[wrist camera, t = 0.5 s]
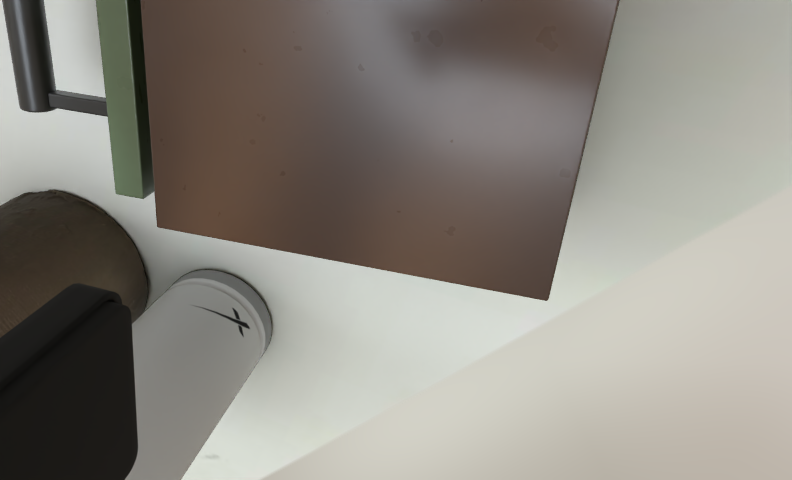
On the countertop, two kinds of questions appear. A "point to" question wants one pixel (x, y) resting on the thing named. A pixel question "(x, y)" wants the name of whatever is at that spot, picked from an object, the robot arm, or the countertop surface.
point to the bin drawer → (120, 79)
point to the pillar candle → (62, 254)
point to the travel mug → (192, 366)
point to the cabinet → (377, 128)
